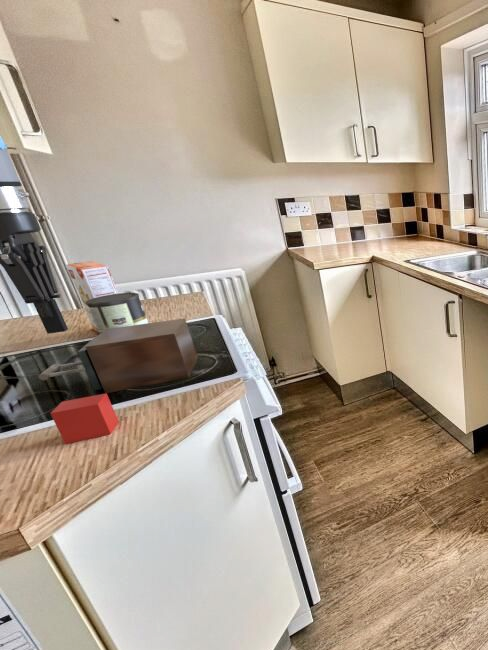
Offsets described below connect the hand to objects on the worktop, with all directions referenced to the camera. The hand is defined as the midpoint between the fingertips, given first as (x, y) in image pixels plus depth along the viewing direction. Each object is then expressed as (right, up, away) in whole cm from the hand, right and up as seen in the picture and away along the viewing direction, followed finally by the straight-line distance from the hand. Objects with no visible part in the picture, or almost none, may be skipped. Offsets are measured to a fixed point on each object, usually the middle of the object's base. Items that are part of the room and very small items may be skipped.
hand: (57, 331), depth 86 cm
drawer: (+6, -10, +7) cm, 14 cm away
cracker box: (-24, 0, +37) cm, 44 cm away
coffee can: (-9, -4, +27) cm, 28 cm away
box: (+20, -18, -12) cm, 29 cm away
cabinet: (+12, -10, +10) cm, 18 cm away
